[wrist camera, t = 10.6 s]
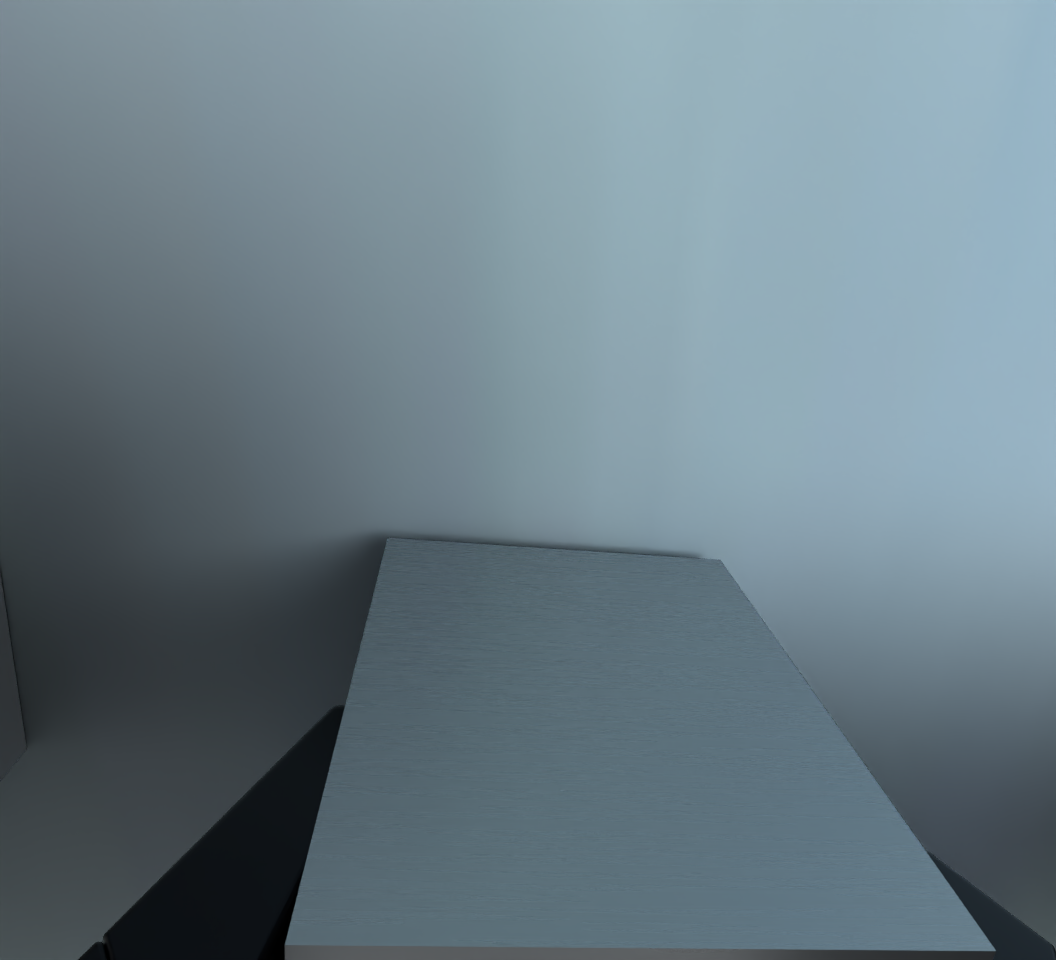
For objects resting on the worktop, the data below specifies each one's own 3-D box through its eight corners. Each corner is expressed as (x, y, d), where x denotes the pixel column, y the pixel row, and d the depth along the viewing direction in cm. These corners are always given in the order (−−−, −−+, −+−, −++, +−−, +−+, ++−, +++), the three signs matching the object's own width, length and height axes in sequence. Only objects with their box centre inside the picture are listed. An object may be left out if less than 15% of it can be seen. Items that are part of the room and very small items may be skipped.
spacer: (721, 559, 9) (997, 950, 4) (664, 815, 10) (825, 1324, 6) (388, 537, 8) (285, 946, 4) (374, 807, 10) (287, 1350, 5)
